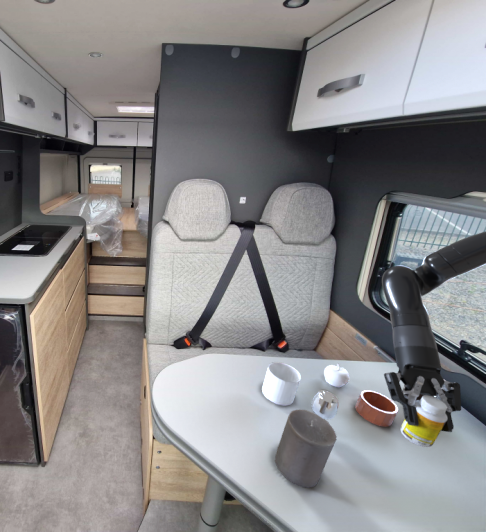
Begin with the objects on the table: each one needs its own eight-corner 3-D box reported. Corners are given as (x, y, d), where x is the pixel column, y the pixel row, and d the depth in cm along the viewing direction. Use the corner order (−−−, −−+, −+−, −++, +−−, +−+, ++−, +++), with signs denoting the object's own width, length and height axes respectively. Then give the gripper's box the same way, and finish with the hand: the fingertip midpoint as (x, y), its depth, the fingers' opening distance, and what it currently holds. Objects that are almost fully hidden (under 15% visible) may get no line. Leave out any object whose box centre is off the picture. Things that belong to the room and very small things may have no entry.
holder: (386, 411, 93) (393, 397, 91) (394, 433, 85) (402, 418, 83) (352, 400, 96) (358, 386, 94) (357, 420, 89) (364, 405, 87)
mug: (278, 410, 90) (286, 385, 87) (255, 389, 97) (261, 365, 94) (306, 400, 95) (314, 375, 91) (281, 380, 102) (289, 357, 99)
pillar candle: (265, 460, 75) (280, 413, 70) (290, 444, 80) (305, 399, 74) (302, 498, 67) (322, 448, 62) (327, 477, 72) (348, 430, 66)
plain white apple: (320, 373, 107) (326, 354, 104) (343, 381, 104) (351, 361, 101) (322, 386, 101) (329, 366, 98) (347, 394, 98) (355, 374, 96)
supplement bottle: (435, 453, 65) (457, 416, 61) (402, 441, 67) (421, 405, 63) (427, 433, 69) (446, 398, 66) (396, 422, 72) (413, 388, 68)
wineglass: (329, 443, 81) (343, 408, 76) (304, 435, 82) (317, 400, 78) (324, 426, 86) (337, 392, 82) (301, 419, 88) (313, 386, 83)
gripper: (391, 340, 69) (404, 422, 63) (464, 350, 67) (486, 437, 60) (371, 346, 76) (380, 420, 69) (436, 356, 74) (453, 434, 67)
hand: (429, 428), depth 65 cm, fingers closed on supplement bottle, 5 cm apart
